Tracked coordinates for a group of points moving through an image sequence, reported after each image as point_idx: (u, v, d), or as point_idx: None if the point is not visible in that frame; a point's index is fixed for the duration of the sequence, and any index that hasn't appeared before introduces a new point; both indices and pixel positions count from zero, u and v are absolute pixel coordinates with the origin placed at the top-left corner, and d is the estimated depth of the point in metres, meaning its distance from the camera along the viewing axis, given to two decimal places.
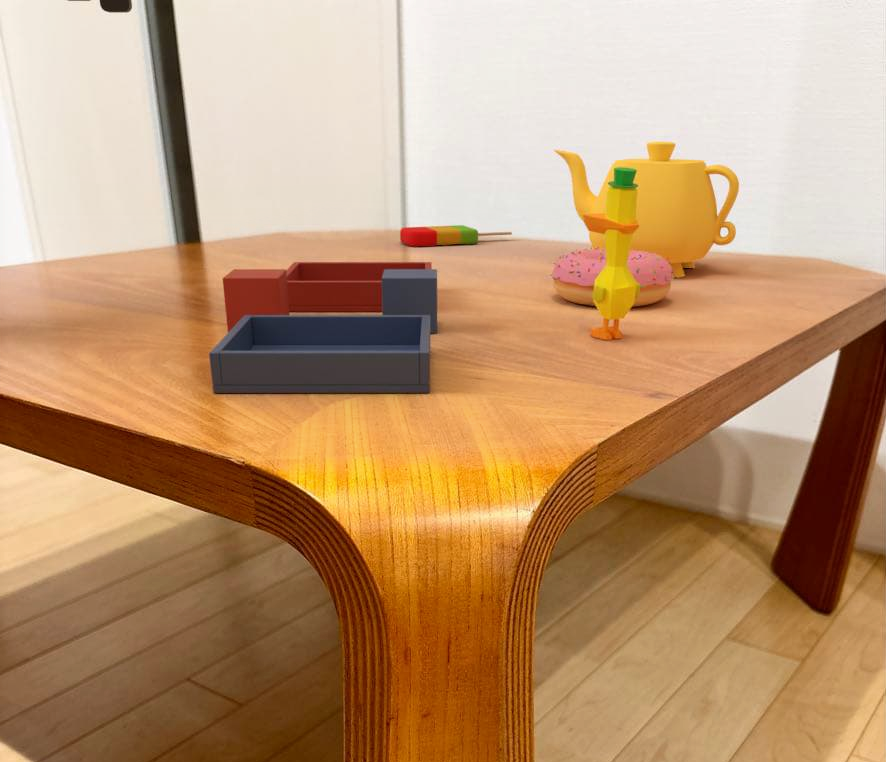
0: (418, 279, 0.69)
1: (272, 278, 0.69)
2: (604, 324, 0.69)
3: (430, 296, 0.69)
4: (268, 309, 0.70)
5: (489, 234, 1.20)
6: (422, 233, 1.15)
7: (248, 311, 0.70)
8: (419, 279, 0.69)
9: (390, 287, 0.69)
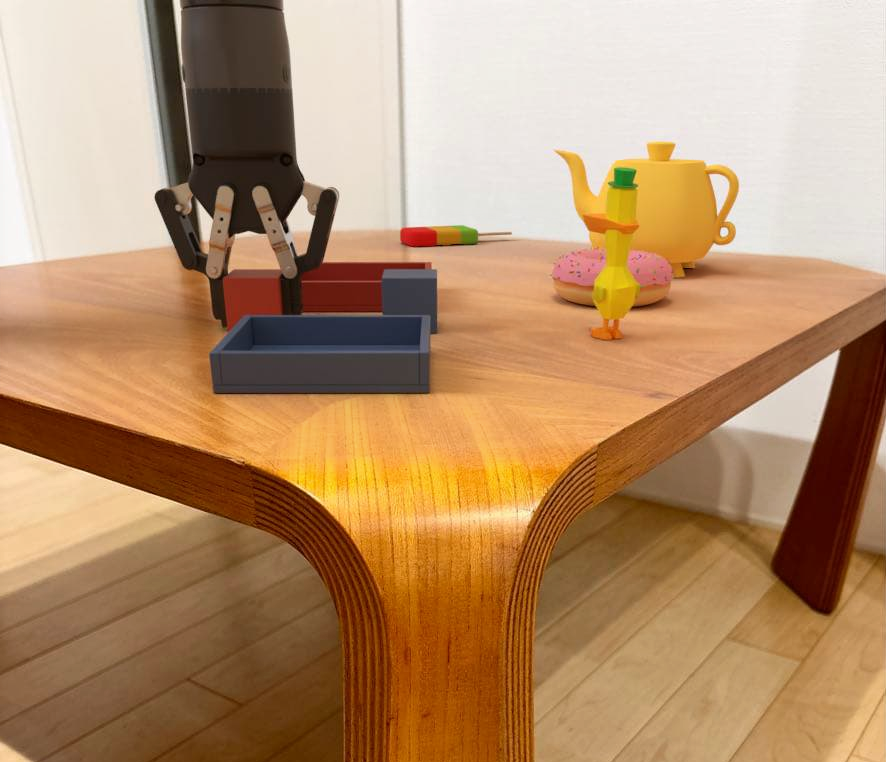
0: (418, 279, 0.69)
1: (272, 278, 0.69)
2: (604, 324, 0.69)
3: (430, 296, 0.69)
4: (268, 309, 0.70)
5: (489, 234, 1.20)
6: (422, 233, 1.15)
7: (248, 311, 0.70)
8: (419, 279, 0.69)
9: (390, 287, 0.69)
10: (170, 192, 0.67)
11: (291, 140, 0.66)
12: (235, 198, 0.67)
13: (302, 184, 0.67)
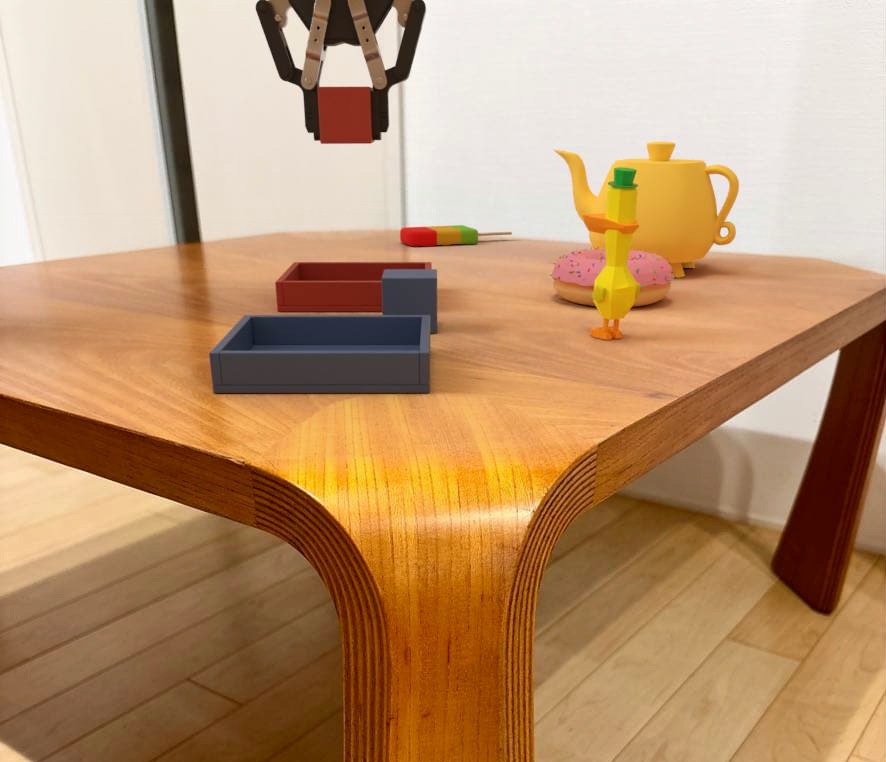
0: (418, 279, 0.69)
1: (364, 87, 0.73)
2: (604, 324, 0.69)
3: (430, 296, 0.69)
4: (359, 119, 0.74)
5: (489, 234, 1.20)
6: (422, 233, 1.15)
7: (341, 120, 0.74)
8: (419, 279, 0.69)
9: (390, 287, 0.69)
10: (269, 3, 0.72)
11: None
12: (331, 7, 0.72)
13: None
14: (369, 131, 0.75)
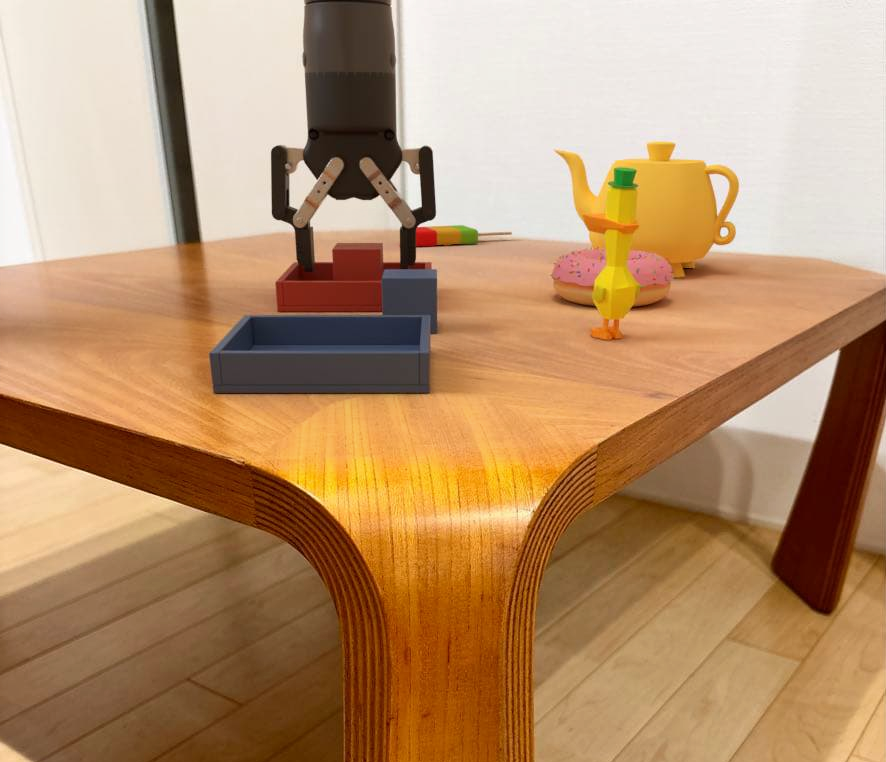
0: (418, 279, 0.69)
1: (375, 249, 0.80)
2: (604, 324, 0.69)
3: (430, 296, 0.69)
4: (370, 277, 0.80)
5: (489, 234, 1.20)
6: (422, 233, 1.15)
7: (353, 278, 0.80)
8: (419, 279, 0.69)
9: (390, 287, 0.69)
10: (285, 150, 0.77)
11: (394, 118, 0.76)
12: (342, 170, 0.77)
13: (401, 156, 0.78)
14: None
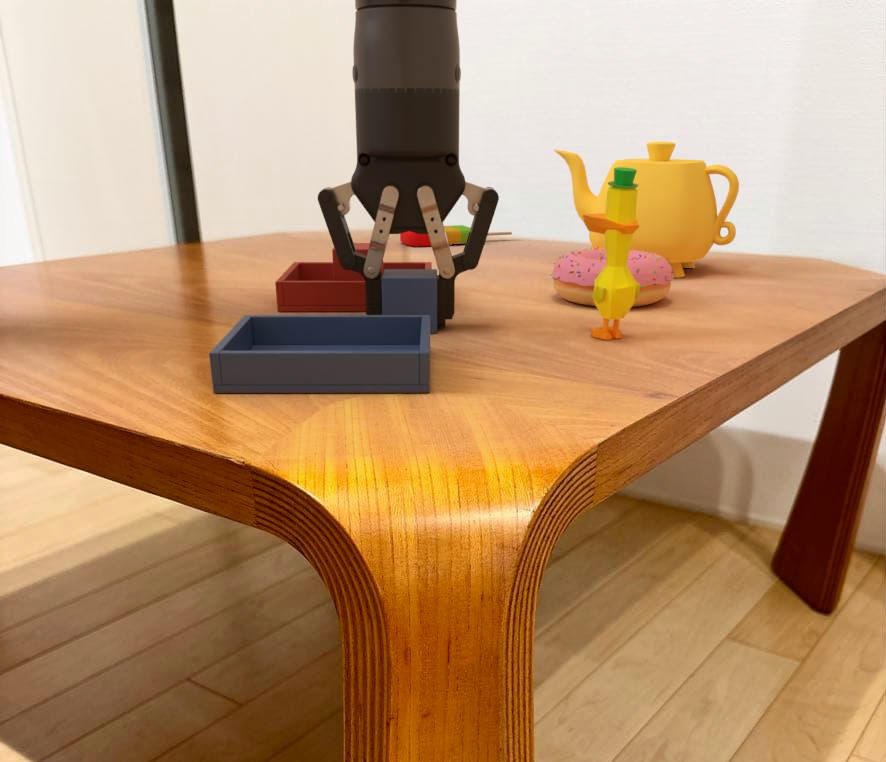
0: (418, 279, 0.69)
1: None
2: (604, 324, 0.69)
3: (430, 296, 0.69)
4: None
5: (489, 234, 1.20)
6: None
7: (353, 278, 0.80)
8: (419, 279, 0.69)
9: (390, 287, 0.69)
10: (332, 192, 0.68)
11: (457, 140, 0.66)
12: (398, 198, 0.67)
13: (465, 184, 0.67)
14: None
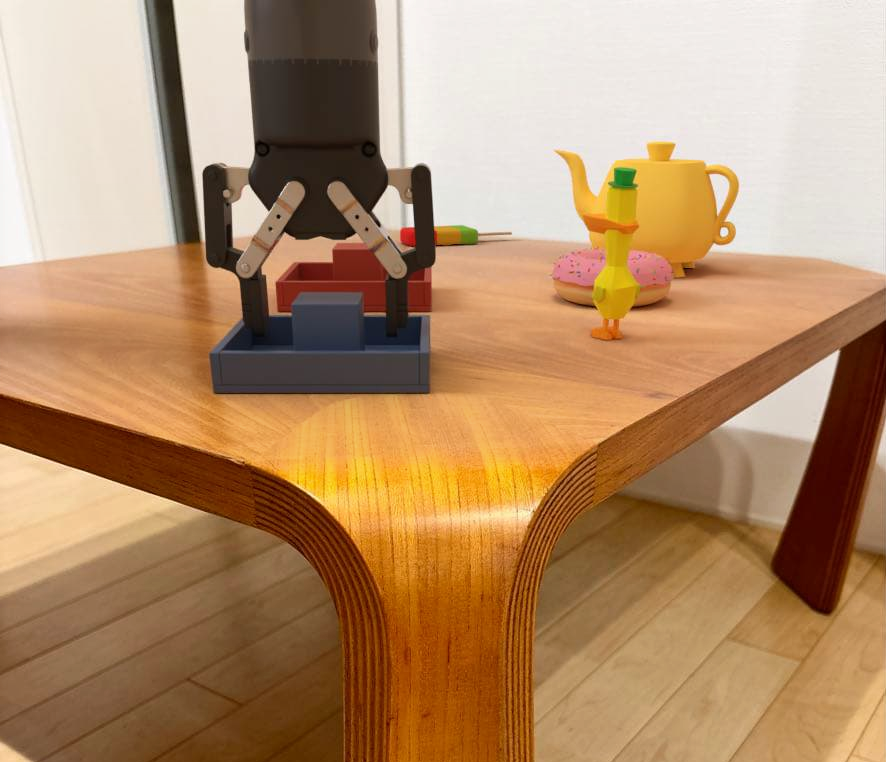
0: (335, 306, 0.57)
1: None
2: (604, 324, 0.69)
3: (351, 327, 0.57)
4: (370, 277, 0.80)
5: (489, 234, 1.20)
6: None
7: (353, 278, 0.80)
8: (337, 306, 0.57)
9: (302, 316, 0.57)
10: (223, 171, 0.55)
11: (376, 126, 0.54)
12: (303, 199, 0.55)
13: (387, 179, 0.55)
14: None
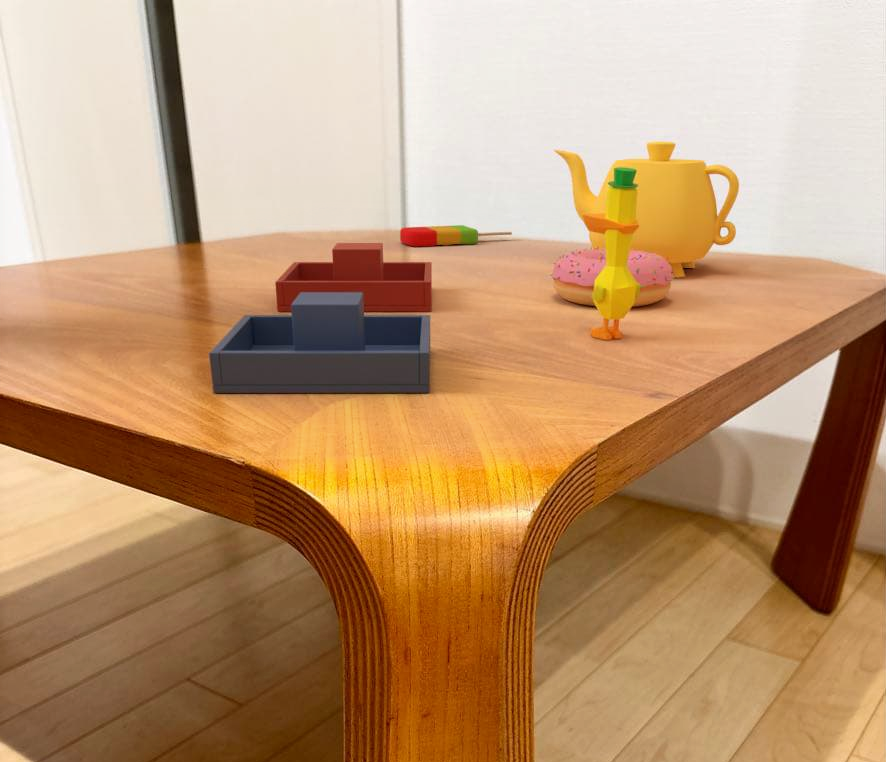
0: (335, 306, 0.57)
1: (375, 249, 0.80)
2: (604, 324, 0.69)
3: (351, 327, 0.57)
4: (370, 277, 0.80)
5: (489, 234, 1.20)
6: (421, 233, 1.15)
7: (353, 278, 0.80)
8: (337, 306, 0.57)
9: (302, 316, 0.57)
10: None
11: None
12: None
13: None
14: None
